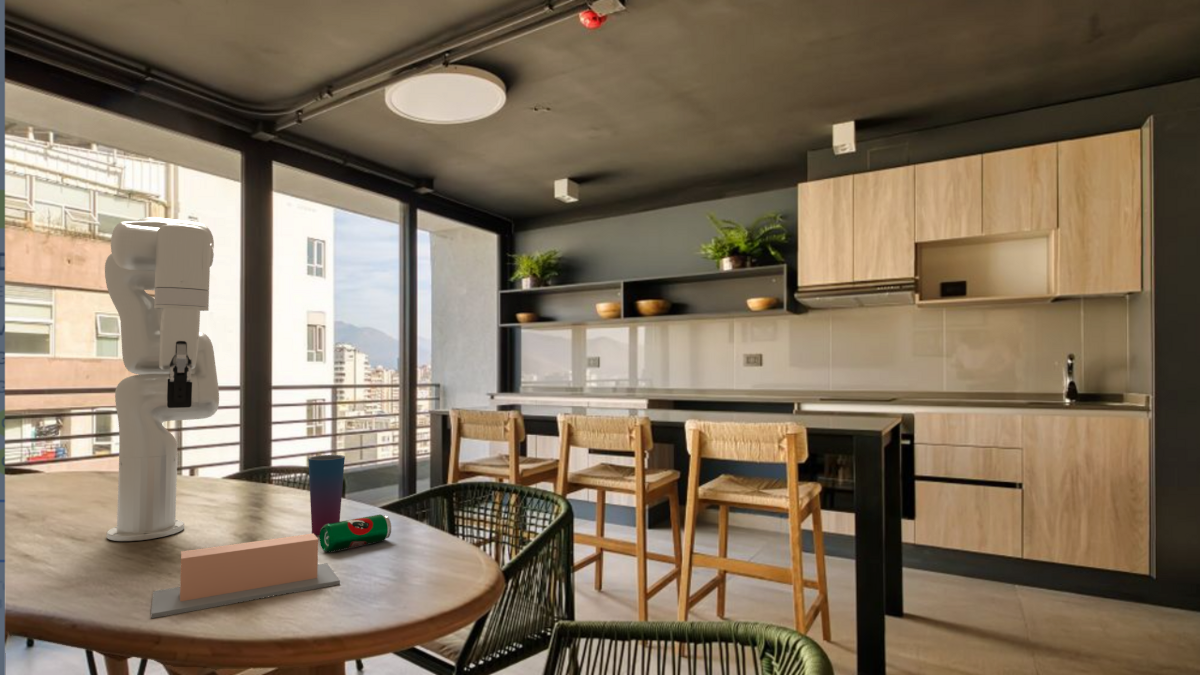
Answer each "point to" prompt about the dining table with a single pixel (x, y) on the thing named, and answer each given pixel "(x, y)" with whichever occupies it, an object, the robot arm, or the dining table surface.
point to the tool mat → (236, 594)
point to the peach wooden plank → (247, 566)
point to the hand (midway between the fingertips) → (178, 404)
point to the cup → (325, 489)
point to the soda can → (354, 533)
